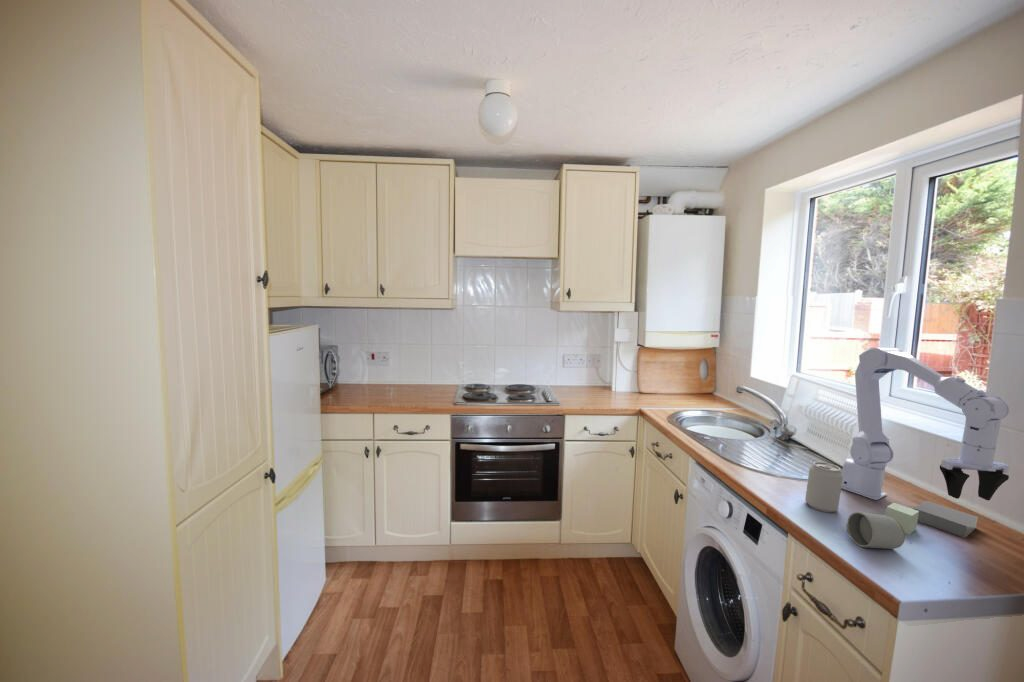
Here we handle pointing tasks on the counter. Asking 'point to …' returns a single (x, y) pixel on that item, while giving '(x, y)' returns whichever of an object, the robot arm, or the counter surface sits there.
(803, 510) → the counter surface
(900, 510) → the green block
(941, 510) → the stone base
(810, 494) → the can
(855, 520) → the grey cup
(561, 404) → the counter surface
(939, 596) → the counter surface
